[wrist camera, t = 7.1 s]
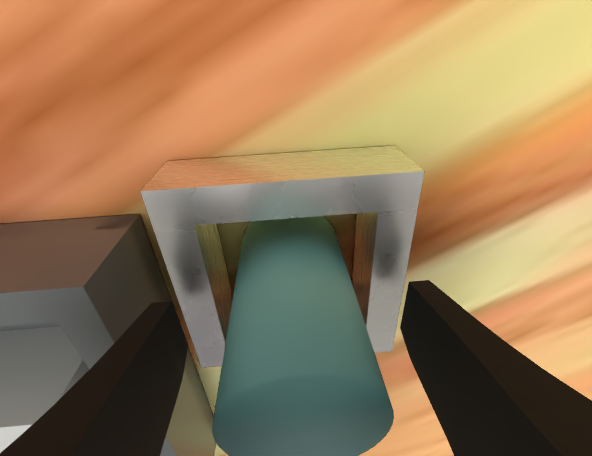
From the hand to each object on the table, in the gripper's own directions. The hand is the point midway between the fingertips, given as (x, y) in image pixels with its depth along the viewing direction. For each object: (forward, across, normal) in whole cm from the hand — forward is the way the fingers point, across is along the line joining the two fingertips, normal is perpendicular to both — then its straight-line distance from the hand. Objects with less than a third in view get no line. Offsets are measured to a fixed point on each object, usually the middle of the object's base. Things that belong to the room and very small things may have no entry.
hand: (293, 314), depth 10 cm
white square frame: (+4, 0, 0) cm, 4 cm away
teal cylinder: (+4, 0, 0) cm, 4 cm away
